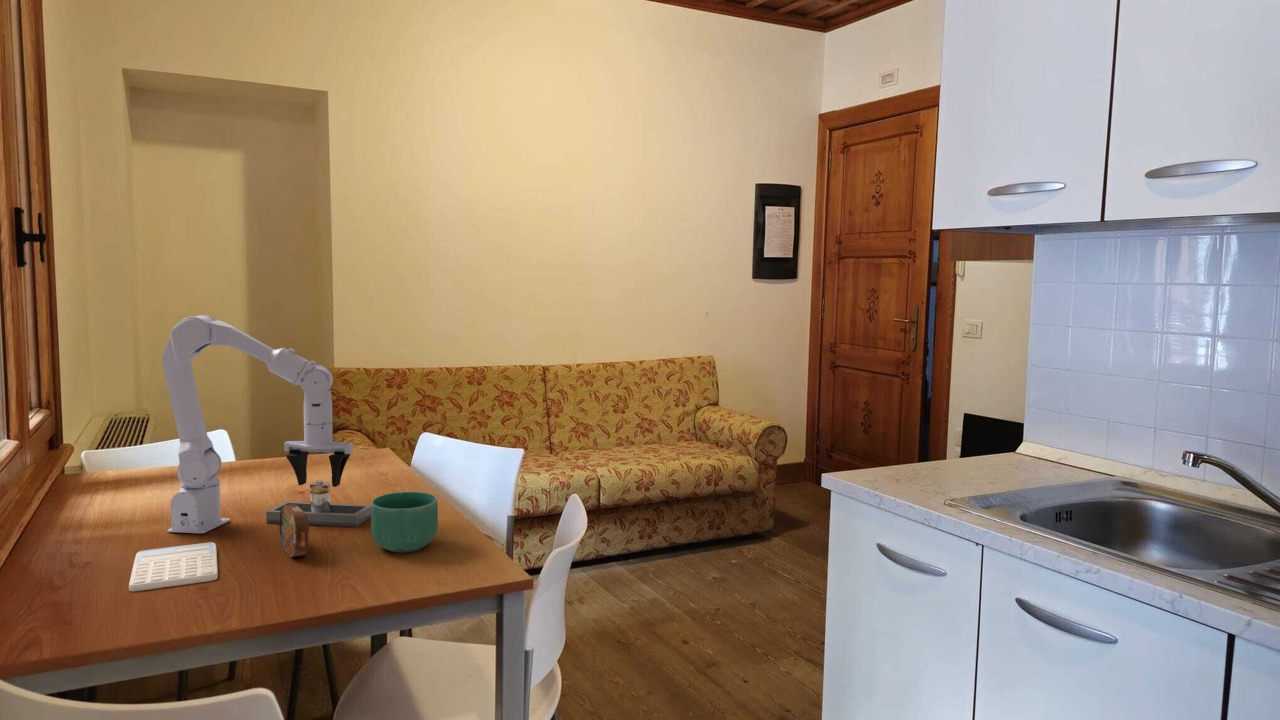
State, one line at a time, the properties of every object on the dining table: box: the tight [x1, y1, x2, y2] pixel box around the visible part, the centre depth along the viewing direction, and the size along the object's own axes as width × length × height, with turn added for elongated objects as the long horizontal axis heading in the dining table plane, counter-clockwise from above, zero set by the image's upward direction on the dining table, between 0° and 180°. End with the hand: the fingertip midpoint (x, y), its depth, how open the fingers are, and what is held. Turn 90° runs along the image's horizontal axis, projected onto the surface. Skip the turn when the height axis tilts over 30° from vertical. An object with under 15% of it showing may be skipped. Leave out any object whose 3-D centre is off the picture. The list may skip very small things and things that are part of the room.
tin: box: [278, 505, 310, 559], centre depth 159 cm, size 15×3×8 cm, turn 34°
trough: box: [265, 501, 371, 528], centre depth 180 cm, size 8×20×2 cm, turn 84°
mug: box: [370, 491, 439, 553], centre depth 164 cm, size 17×13×10 cm
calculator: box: [128, 542, 219, 592], centre depth 149 cm, size 13×20×2 cm, turn 28°
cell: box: [309, 480, 331, 513], centre depth 180 cm, size 4×4×8 cm
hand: (319, 485), depth 179 cm, fingers open, 7 cm apart
